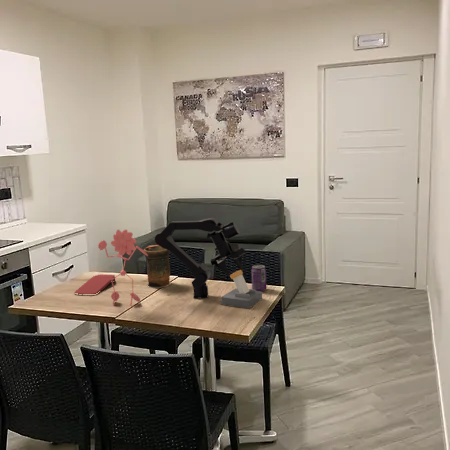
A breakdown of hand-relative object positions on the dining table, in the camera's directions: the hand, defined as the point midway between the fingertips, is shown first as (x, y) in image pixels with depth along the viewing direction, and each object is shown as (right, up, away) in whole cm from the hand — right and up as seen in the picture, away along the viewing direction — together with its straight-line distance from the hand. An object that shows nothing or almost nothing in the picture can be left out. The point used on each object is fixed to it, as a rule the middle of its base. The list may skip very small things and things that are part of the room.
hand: (235, 272), depth 227 cm
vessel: (-40, -9, +28) cm, 50 cm away
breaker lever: (+5, -9, -7) cm, 12 cm away
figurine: (-51, -14, +2) cm, 53 cm away
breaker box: (+3, -13, -5) cm, 14 cm away
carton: (-72, -11, +27) cm, 78 cm away
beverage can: (+12, -10, +11) cm, 19 cm away
